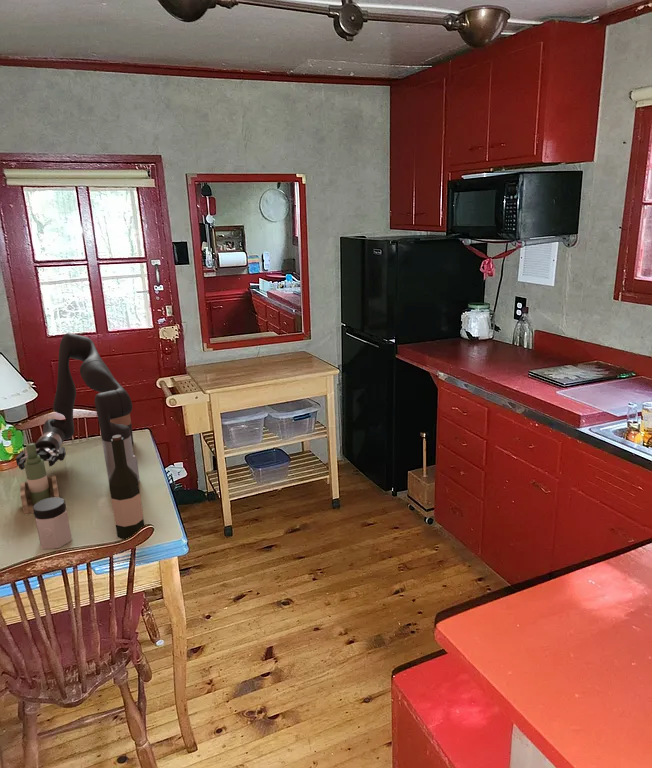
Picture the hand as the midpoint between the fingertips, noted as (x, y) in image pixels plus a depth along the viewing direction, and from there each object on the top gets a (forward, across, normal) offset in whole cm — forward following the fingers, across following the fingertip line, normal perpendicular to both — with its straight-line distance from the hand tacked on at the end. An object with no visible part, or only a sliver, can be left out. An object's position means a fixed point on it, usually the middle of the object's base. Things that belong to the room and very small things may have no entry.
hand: (35, 465), depth 181 cm
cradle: (+1, 0, +13) cm, 13 cm away
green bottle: (+1, 0, +12) cm, 13 cm away
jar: (+26, +10, +13) cm, 31 cm away
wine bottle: (+27, +30, +13) cm, 42 cm away
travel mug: (-44, +20, +13) cm, 50 cm away
